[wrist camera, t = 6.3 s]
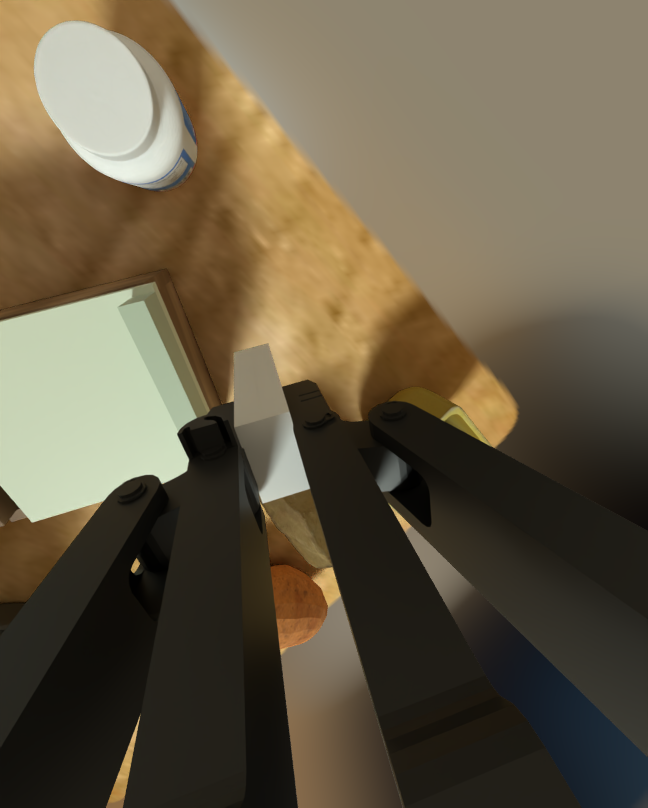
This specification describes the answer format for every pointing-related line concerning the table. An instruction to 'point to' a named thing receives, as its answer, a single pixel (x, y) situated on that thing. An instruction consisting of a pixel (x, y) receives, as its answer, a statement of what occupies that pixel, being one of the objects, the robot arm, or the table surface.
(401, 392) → the flower pot
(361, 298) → the table surface
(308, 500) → the rock
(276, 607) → the potato
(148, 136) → the pill bottle
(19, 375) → the lid
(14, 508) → the box
